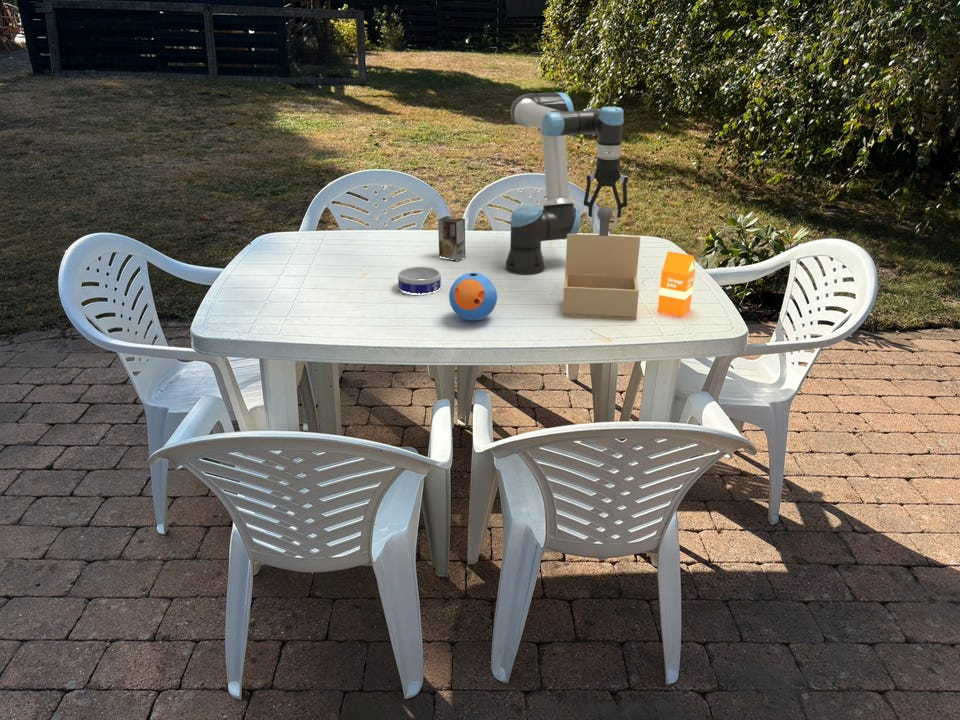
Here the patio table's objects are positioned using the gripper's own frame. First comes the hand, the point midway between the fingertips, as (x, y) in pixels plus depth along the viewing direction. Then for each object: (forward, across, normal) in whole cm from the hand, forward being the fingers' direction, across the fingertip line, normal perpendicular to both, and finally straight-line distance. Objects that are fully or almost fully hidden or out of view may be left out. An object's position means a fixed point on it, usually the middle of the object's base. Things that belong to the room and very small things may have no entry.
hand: (603, 226), depth 260 cm
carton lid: (+4, 0, -7) cm, 8 cm away
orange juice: (+26, +25, -9) cm, 37 cm away
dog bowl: (+26, -64, +1) cm, 69 cm away
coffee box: (+26, -58, +37) cm, 73 cm away
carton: (+25, 0, -12) cm, 28 cm away
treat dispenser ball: (+26, -41, -25) cm, 54 cm away
